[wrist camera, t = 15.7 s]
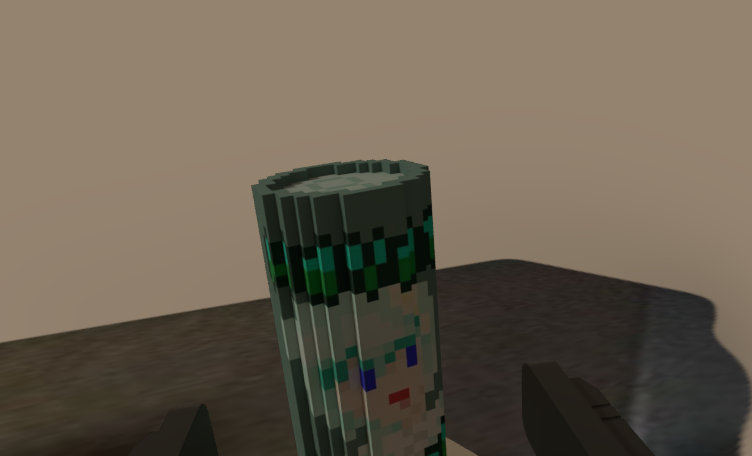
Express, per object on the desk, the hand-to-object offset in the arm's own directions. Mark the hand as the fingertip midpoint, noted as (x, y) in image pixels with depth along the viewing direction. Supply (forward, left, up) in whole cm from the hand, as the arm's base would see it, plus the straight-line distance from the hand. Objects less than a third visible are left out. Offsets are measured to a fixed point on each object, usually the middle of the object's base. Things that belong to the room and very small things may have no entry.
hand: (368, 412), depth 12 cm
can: (-5, +4, -10) cm, 13 cm away
